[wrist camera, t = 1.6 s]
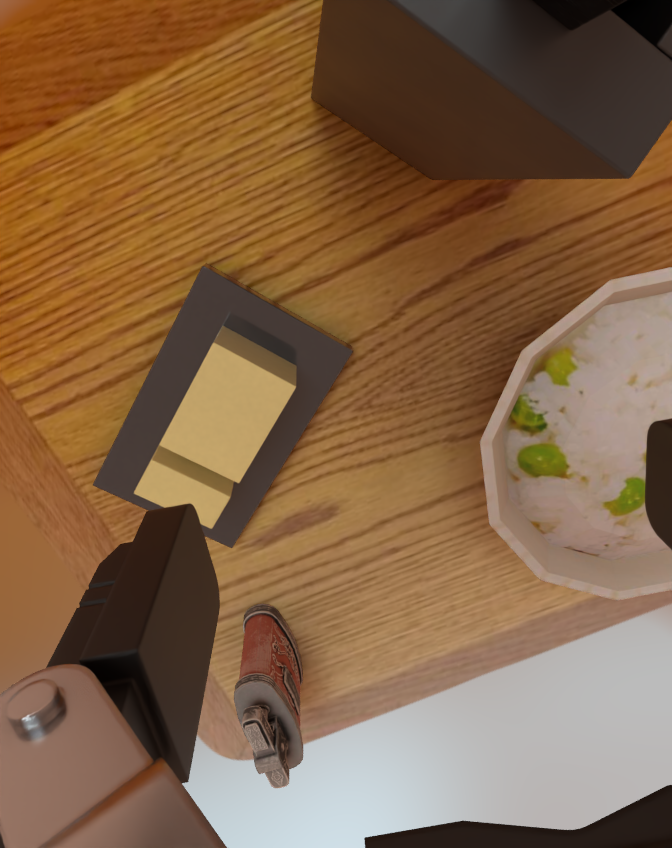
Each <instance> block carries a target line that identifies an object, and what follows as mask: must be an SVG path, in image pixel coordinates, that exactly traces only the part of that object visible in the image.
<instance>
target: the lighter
mask: <svg viewBox="0 0 672 848" xmlns="http://www.w3.org/2000/svg"><path fill="white" fill-rule="evenodd" d="M243 629H244V634H245V636H244V644H243V652H242V660H241V669H240V677H239V680H238V682H237V683H236V685H235V692H234V702H235V706H236V711H237V715H238V719H239V721H240V724H241V726H242V729H243V731H244V734H245V736H246V738H247V739H248V741H249V742H250V744H251V746H252V748H253V755H254V762H255V767H256V769H257V771H258V773H259V774H261V773H265V774H266V776H267V778H268V780H269V782H270V784H271V786H272V787H274V788H281V787H285V786H287V785H288V784H289V769H291V768H294V767H296V766H297V765H298V764H300V763H301V761H302V760H303V742H302V736H301V730H300V686H301V684H302V681H303V670H302V663H301V657H300V653H299V650H298V647H297V644H296V641H295V638H294V636H293V634H292V633H291V631H290V629H289V627H288V625H287V623H286V622H285V620H284V619H283V618H282V616H281V615H280V613H279V612H278V610H277V609H276V608H274V607H273V606H271V605H267V604H259V605H255V606H253V607H251V608H249V609H248V610H247V611H246V613H245V615H244V622H243Z"/></svg>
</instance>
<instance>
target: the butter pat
mask: <svg viewBox="0 0 672 848" xmlns="http://www.w3.org/2000/svg"><path fill="white" fill-rule="evenodd" d="M233 484H234V481H232V480H230V479H228V478H226V477H224V476H222V475H220V474H218V473H216V472H214V471H212V470H210V469H208V468H206V467H203V466H201V465H199V464H197V463H195V462H193V461H191V460H189V459H187V458H185V457H183V456H181V455H179V454H177V453H174V452H172V451H170V450H168V449H166V448H164V447H162V446H160V445H159V446H158V448H157V450H156V451H155V453H154V455H153V457H152V459H151V461H150V463H149V465H148V466H147V468H146V470H145V472H144V474H143V476H142V478H141V480H140V482H139V483H138V485H137V487H136V489H135V491H134V494H136V495H138V496H140V497H143V498H145V499H147V500H149V501H151V502H154V503H156V504H158V505H160V506H162V507H164V508H166V507H172V506H177V505H183V504H189V503H191V504H192V505H193V506H194V507H195V509H196V512H197V514H198V517H199V520H200V524H202V525H204V526H206V527H208V528H210V529H212V528H213V526H214V525H215V523H216V521H217V520H218V518H219V516H220V515H221V513H222V511H223V510H224V508H225V506H226V505H227V503H228V501H229V499H230V498H231V493H232V489H233Z"/></svg>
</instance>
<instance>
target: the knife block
mask: <svg viewBox="0 0 672 848" xmlns="http://www.w3.org/2000/svg"><path fill="white" fill-rule="evenodd" d="M311 98H312V99H313V100H314V101H316V102H317V103H319V104H320V105H322V106H323V107H325V108H326V109H328V110H329V111H331V112H332V113H333V114H335V115H336V116H338V117H339V118H341V119H342V120H344V121H345V122H347V123H348V124H350V125H351V126H353V127H354V128H356V129H357V130H359V131H360V132H362V133H363V134H365V135H366V136H368V137H369V138H371V139H372V140H374V141H375V142H377V143H378V144H380V145H381V146H383V147H384V148H386V149H387V150H389V151H390V152H392V153H393V154H395V155H396V156H397V157H399V158H400V159H402V160H403V161H405V162H406V163H408V164H409V165H411V166H412V167H414V168H415V169H417V170H418V171H420V172H421V173H423V174H424V175H426V176H427V177H429V178H430V179H432V180H483V179H629V178H630V177H631V176H632V175H633V174H634V172H635V171H636V170H637V168H638V167H639V165H640V164H641V162H642V161H643V160H644V158H645V157H646V155H647V154H648V153H649V151H650V150H651V148H652V147H653V145H654V144H655V143H656V141H657V140H658V138H659V137H660V136H661V134H662V133H663V131H664V130H665V128H666V127H667V126H668V124H669V123H670V121H671V120H672V0H627V1H625V2H624V3H622V4H620V5H618V6H616V7H615V8H613V9H611V10H609V11H607V12H605V13H604V14H602V15H600V16H598V17H596V18H595V19H593V20H591V21H589V22H587V23H586V24H584V25H582V26H580V27H578V28H576V29H575V30H573V31H572V30H569V29H568V28H566V27H565V26H564V25H563V24H561V23H560V22H559V21H558V20H556V19H555V18H554V17H553V16H551V15H550V14H549V13H548V12H546V11H545V10H544V9H543V8H541V7H540V6H539V5H537V4H536V3H535V2H534V1H532V0H323V6H322V14H321V22H320V30H319V38H318V46H317V54H316V62H315V70H314V78H313V86H312V94H311Z"/></svg>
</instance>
